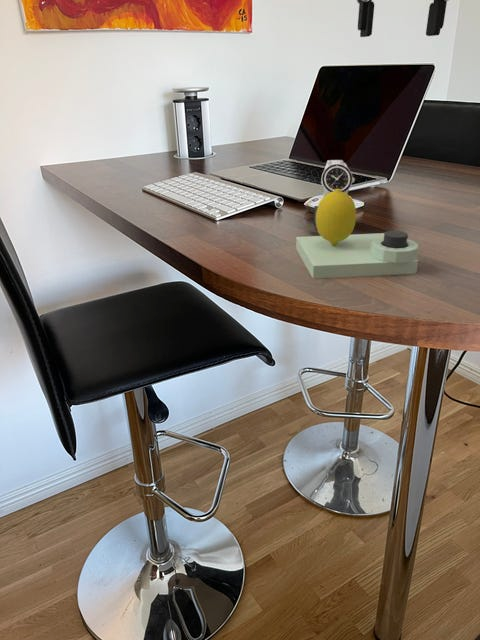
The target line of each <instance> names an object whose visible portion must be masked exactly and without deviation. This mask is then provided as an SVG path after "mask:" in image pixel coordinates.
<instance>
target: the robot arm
mask: <svg viewBox="0 0 480 640" xmlns="http://www.w3.org/2000/svg"><path fill="white" fill-rule="evenodd" d="M448 1H450V0H433V2H431V3H430V4H429V8H428V14H427V22H426V29H425V35H426V36H427V37H434V36H439V35H440V34H441V30H442V29H443V27H444V23H445V17H446V10H447V4H448ZM356 3H357V4H358V16H357V31H359V36H360V38H367V37H371V36H372V33H373V25H374V15H375V14H374V13H375V1H373V0H356Z"/></svg>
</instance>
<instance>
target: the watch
mask: <svg viewBox="0 0 480 640" xmlns="http://www.w3.org/2000/svg"><path fill="white" fill-rule="evenodd" d="M355 181H356V180H355V177H353V173H352V171H351V170H350V168H349V167H348V164H347V163H346V162H344V160H343V159H328V160H327V161H326V163H325V167H324V169H323V172H322V174H321V178H320V184H321V187H322V188H323V194H322V196H323V197H324V196H325V195H326V194H328V193H330V192H333V191H334V190H335V189H340V190H341V191H342V192H344V193H346V194H348V195H349V190H350V188H351V187H352V185H353V184H354V183H355ZM317 208H318V205H314V208H313V226H314V229H315V231H316V232H318V230H317V227H316V212H317Z"/></svg>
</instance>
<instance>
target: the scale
mask: <svg viewBox="0 0 480 640" xmlns="http://www.w3.org/2000/svg"><path fill="white" fill-rule="evenodd" d="M384 233H385V232H381V233H359V234H357V233H356V234H350V235H349V236H348V237H347V238H346V239H344V240H342V241H339V242H338V243H337V244H336V245H332V244H331V243H330V242H329V241H328V240H325V239H324V238H323V237H322V236H321V235H314V236H313V235H311V236H309V235H308V236H296V237H295V238H296V239H295V249H296V251H297V253H298V255H299V257H300V258H301V260H302V262H303V264H304V266H305V267H306V269H307V272H308V273H309V274H310V276H311V278H312V279H313V280H315V279H336V278H355V277H378V276H395V275H396V276H398V275H415V274H417V273H418V265H419V260H418V259H417V256H418V252H419V251H418V250H419V244H418V243H416V242H415V241H414V240H413V239H408V238H407V245H406V247H405V248H388V247H385V246H383V241H384Z"/></svg>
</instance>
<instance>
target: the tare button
mask: <svg viewBox="0 0 480 640" xmlns="http://www.w3.org/2000/svg"><path fill="white" fill-rule="evenodd" d="M383 233H384V241H383V246H385V247H388V248H405V247H406V245H407V239H408V236H409V235H408V233H407V232H405V231H401V230H387V231H385V232H383Z"/></svg>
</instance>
